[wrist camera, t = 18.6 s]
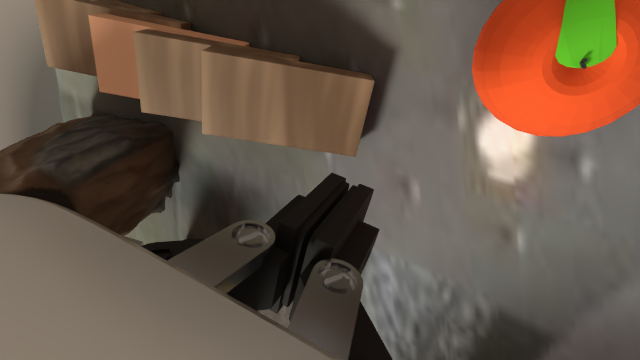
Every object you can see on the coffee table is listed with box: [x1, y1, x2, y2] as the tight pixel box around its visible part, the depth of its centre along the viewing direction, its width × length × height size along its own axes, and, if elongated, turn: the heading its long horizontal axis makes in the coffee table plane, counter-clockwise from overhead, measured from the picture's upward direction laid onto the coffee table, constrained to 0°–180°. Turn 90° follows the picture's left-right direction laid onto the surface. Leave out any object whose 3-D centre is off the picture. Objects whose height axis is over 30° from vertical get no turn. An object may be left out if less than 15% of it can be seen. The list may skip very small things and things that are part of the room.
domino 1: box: [34, 0, 191, 76], centre depth 24 cm, size 2×5×10 cm
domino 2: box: [88, 14, 250, 99], centre depth 23 cm, size 2×5×10 cm
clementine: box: [472, 0, 640, 137], centre depth 14 cm, size 8×7×7 cm
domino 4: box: [201, 46, 375, 157], centre depth 21 cm, size 2×5×10 cm
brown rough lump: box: [0, 115, 179, 236], centre depth 26 cm, size 13×13×20 cm
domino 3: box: [133, 29, 300, 121], centre depth 22 cm, size 2×5×10 cm
